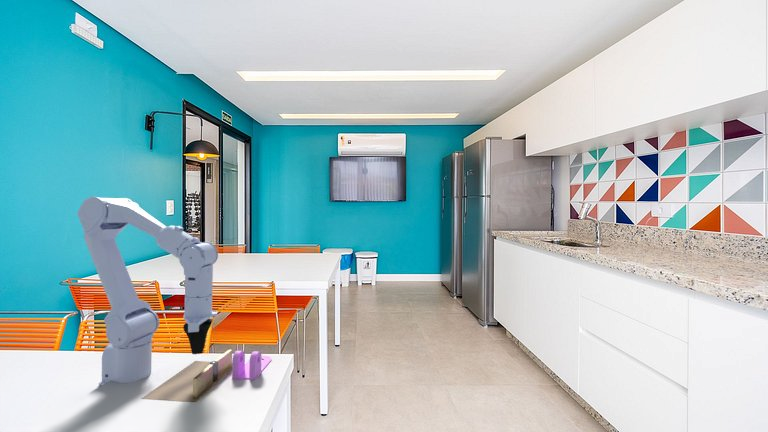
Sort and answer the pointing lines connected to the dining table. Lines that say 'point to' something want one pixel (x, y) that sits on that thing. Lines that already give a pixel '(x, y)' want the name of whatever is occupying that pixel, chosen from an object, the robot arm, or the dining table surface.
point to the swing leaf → (202, 381)
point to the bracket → (248, 365)
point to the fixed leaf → (221, 364)
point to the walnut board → (183, 384)
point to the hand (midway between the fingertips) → (197, 352)
